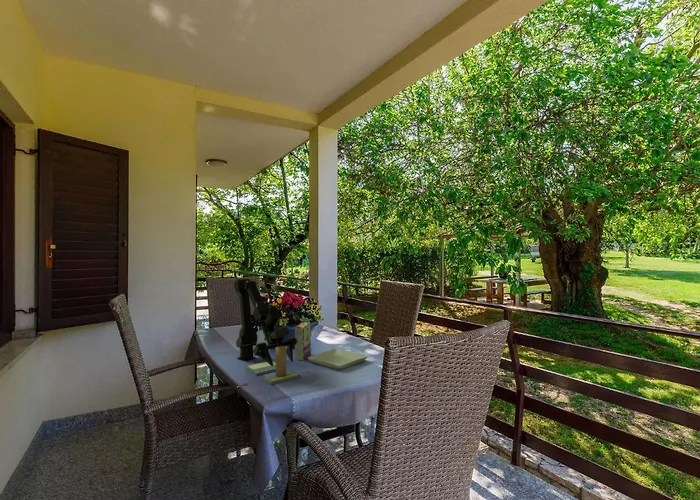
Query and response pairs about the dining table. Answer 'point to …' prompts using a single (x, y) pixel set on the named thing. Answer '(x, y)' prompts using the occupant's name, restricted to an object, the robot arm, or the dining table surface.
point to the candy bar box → (302, 341)
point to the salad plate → (337, 358)
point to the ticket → (261, 368)
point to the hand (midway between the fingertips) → (282, 363)
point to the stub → (281, 368)
